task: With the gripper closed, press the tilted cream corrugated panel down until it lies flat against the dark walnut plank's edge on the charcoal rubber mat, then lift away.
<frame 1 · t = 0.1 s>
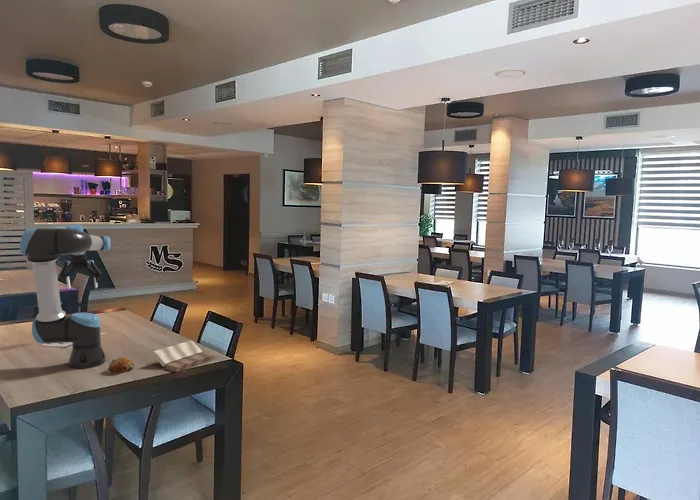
hand: (82, 287, 267), 28 cm above the table, tool tilted 20°, fingers open, 13 cm apart
underlay mat: (181, 362, 230), on the table
bread roll: (122, 371, 218), on the table
cream corrugated panel: (178, 353, 230), point 4 cm above the table, hinge at 30.0°
walnut plank: (190, 364, 227), resting on underlay mat
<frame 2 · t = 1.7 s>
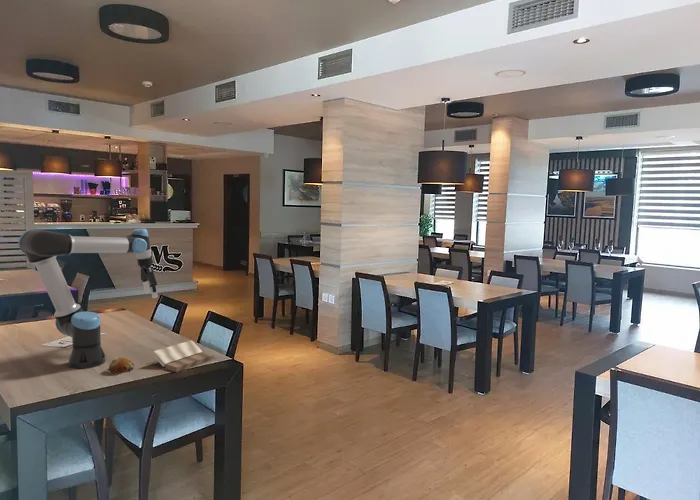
hand: (151, 295, 263), 25 cm above the table, tool pointing down, fingers open, 13 cm apart
nothing on the table moved.
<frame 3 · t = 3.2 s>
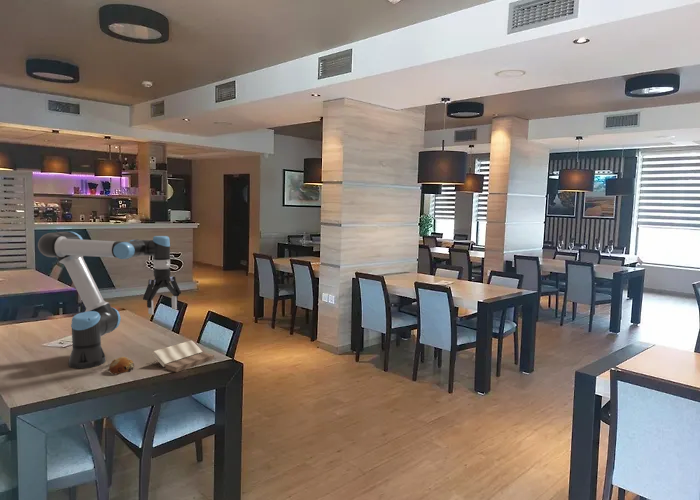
hand: (162, 311, 235), 23 cm above the table, tool pointing down, fingers open, 13 cm apart
nothing on the table moved.
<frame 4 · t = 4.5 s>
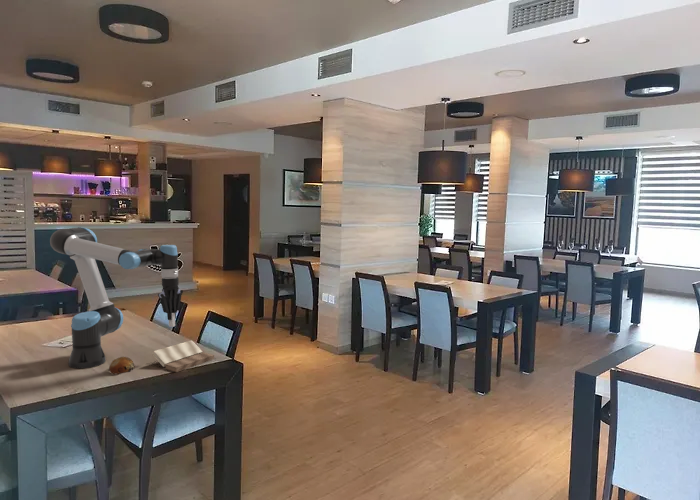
hand: (172, 326, 232), 16 cm above the table, tool pointing down, fingers closed
nothing on the table moved.
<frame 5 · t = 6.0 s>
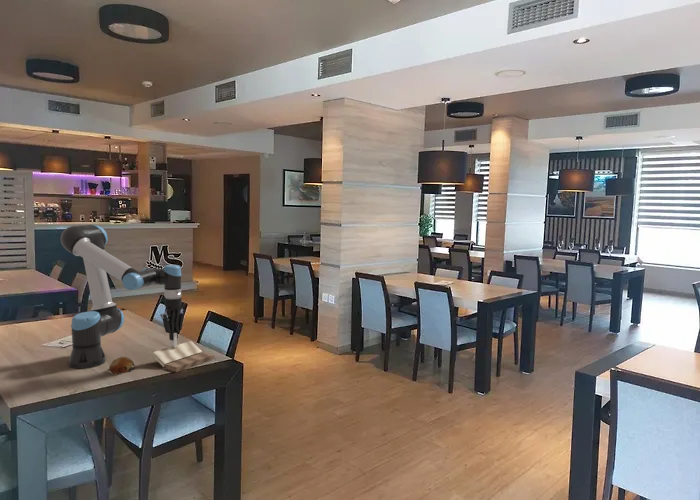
hand: (173, 346, 232), 7 cm above the table, tool pointing down, fingers closed
cream corrugated panel: (177, 353, 231), point 4 cm above the table, hinge at 26.4°, touching gripper
everything else where it was.
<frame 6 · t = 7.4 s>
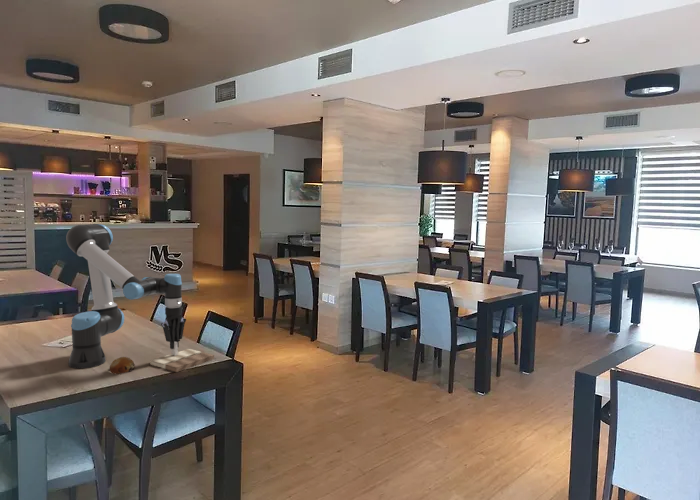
hand: (174, 354, 232), 3 cm above the table, tool pointing down, fingers closed
cream corrugated panel: (176, 357, 231), point 2 cm above the table, hinge at -0.3°, touching gripper
everything else where it was.
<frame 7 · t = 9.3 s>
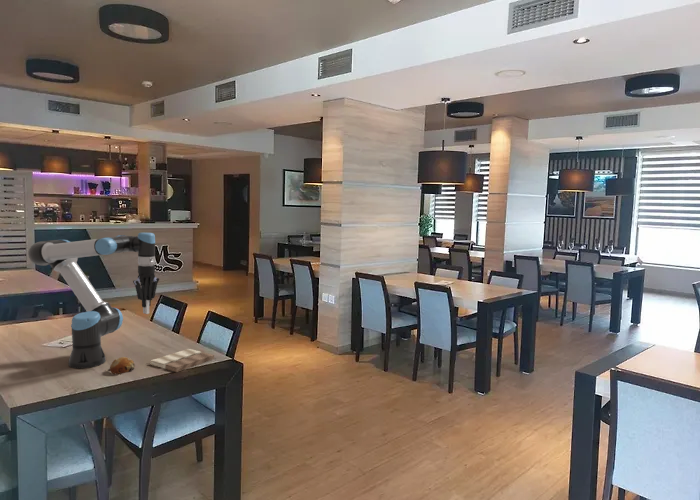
hand: (146, 313, 234), 22 cm above the table, tool pointing down, fingers closed
cream corrugated panel: (176, 357, 231), point 2 cm above the table, hinge at -0.3°
everything else where it was.
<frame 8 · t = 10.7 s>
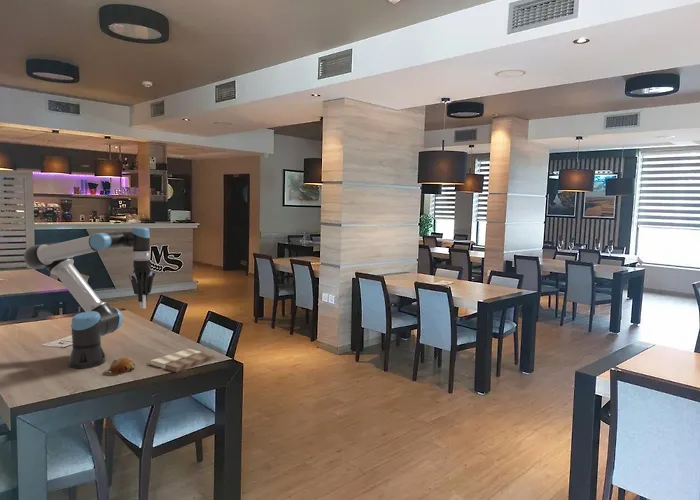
hand: (142, 308, 234), 24 cm above the table, tool pointing down, fingers closed
nothing on the table moved.
at the end: cream corrugated panel at +0° (first picture: +30°); bread roll moved 1.0 cm from its start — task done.
